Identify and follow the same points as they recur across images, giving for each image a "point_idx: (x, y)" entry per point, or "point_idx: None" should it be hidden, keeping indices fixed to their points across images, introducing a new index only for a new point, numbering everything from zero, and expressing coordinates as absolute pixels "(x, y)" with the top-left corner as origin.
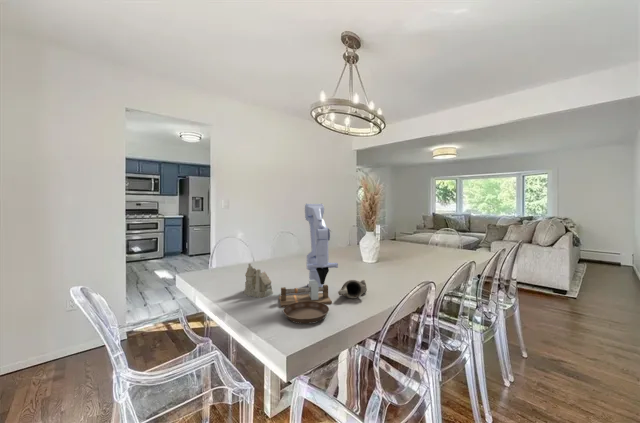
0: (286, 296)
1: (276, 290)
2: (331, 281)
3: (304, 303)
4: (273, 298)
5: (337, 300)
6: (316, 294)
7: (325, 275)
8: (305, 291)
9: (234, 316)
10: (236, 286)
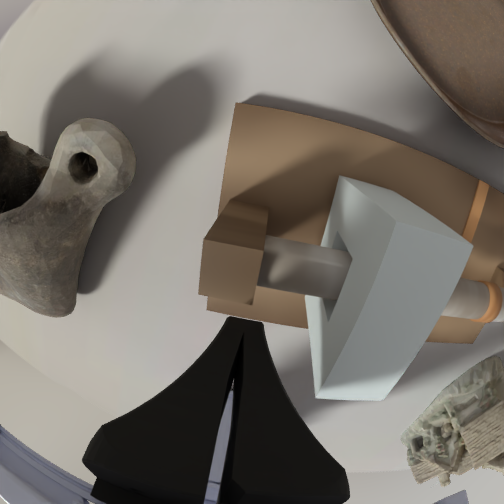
0: (457, 329)
1: (408, 415)
2: None
3: (475, 125)
4: (481, 338)
5: (168, 159)
6: (370, 189)
7: (188, 390)
8: None
9: None
10: None
